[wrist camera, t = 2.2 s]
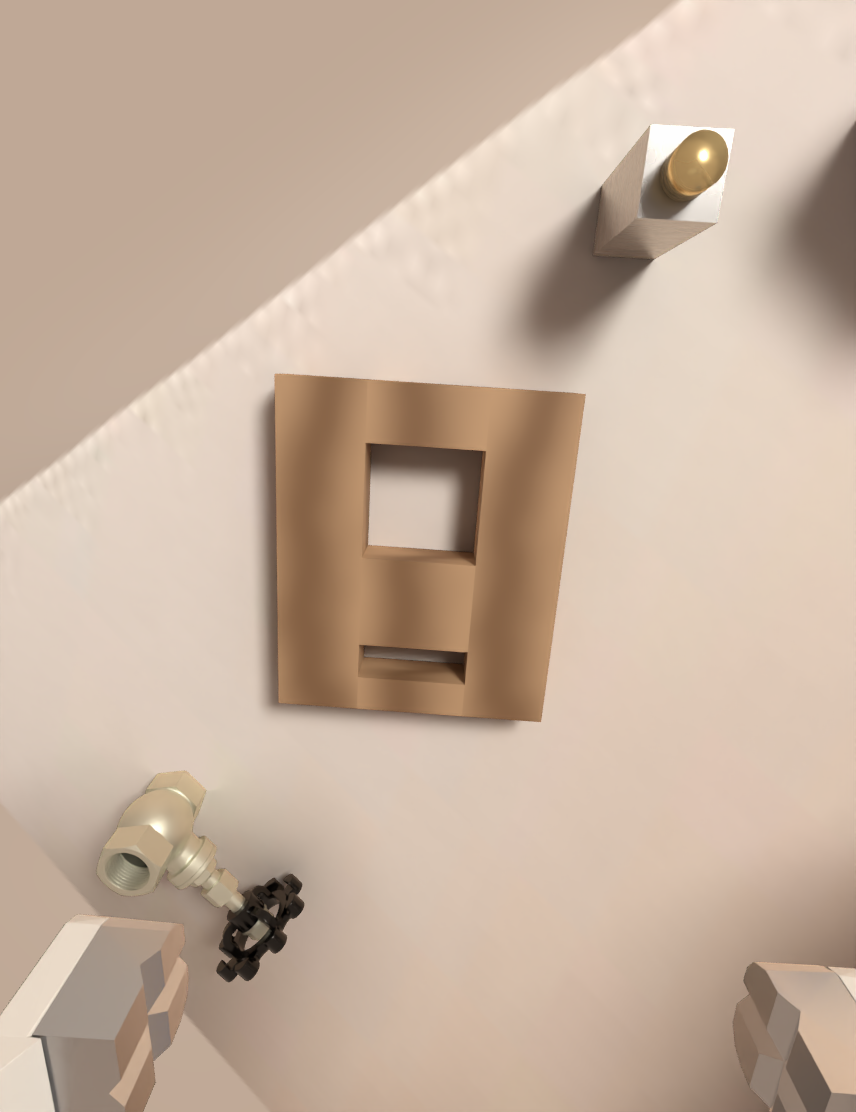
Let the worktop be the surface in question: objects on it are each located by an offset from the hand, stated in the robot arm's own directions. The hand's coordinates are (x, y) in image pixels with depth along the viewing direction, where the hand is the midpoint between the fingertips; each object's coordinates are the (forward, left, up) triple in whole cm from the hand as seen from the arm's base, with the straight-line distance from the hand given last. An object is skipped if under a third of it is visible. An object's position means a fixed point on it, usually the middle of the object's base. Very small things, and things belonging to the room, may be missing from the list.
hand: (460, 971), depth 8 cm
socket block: (+2, +1, -26) cm, 26 cm away
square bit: (-7, -16, -26) cm, 31 cm away
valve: (+14, +22, -26) cm, 37 cm away
